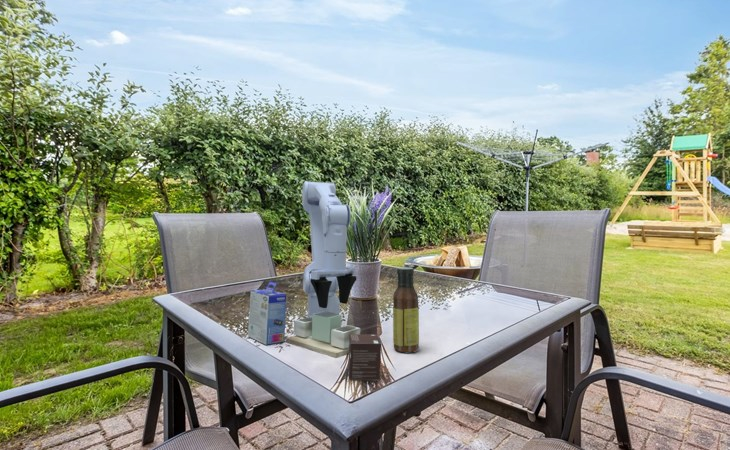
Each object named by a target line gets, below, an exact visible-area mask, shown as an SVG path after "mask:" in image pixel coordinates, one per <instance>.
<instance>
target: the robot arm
mask: <svg viewBox="0 0 730 450" xmlns="http://www.w3.org/2000/svg"><path fill="white" fill-rule="evenodd" d="M336 189H337V187H336V185H335V183H334V182H321V181H320V182H319V181H318V182H317V181H307V180H305V181H304V182H303V183H302V190H301V193H302V194H301V195H302V196H301V198H302V199H301V200H302V208H303V210H304V211H305V212H307V213H308V217H309V223H310V225H309V226H310V243H311V244H310V245H311V246H310V247H311V263H309V264H308V265H307V266H305V268H304V270H303V280H302V288H303V292H304V294H306V295H307V317H312V314H314V313H319V312H323V311H324V312H325V311H327V312H331V313H336V314H339V315H340V304H343V305H344V304H348V301H349V297H350V293H351V291H352V288H353V287H354V284H355V282H356V281H357V276H356V270H357V269H356V266H355V267H353V266H347V242H348V241H347V236H348V235H347V234H348V227H349V226H350V223H351V209H350V206H349V204H345V205H343V204H342V203H341V201H340V199H339V198H338V196H337V195H336V194H337V192H336V191H337V190H336ZM337 292H338V296H337V294H336V293H337ZM307 317H306V318H307Z"/></svg>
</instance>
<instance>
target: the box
mask: <svg viewBox="0 0 730 450" xmlns="http://www.w3.org/2000/svg"><path fill="white" fill-rule="evenodd" d="M381 351H382V342H381V339H380V338H379V335H378V334H376V333H375V334H374V333H373V334H370V333H369V334H361V333H360V334H350V335H349V353H348V365H347V366H348V367H347V368H348V372H347V373H348V380H349V381H354V382H355V381H380V380H381V359H382V358H381V356H382V352H381Z"/></svg>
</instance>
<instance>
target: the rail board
mask: <svg viewBox="0 0 730 450" xmlns="http://www.w3.org/2000/svg"><path fill="white" fill-rule="evenodd" d="M350 334H361V327H357V326H353V325H349V324H348V325H344V326H341V327H340V328H336V329H333V330H331V343H328V342H324V341H321V340H317V339H314V338H312V317H304V318H303V317H302V318H298V319H294V320H293V336H288V337H285V343H288V344H292V345H295V346H297V347H301V348H304V349H307V350H310V351H314V352H317V353H318V354H319V353H320V354H323V355H327V356H329V357H333V358H335V359H337V358H340V357H341V356H345V355H347V354H348V355H349V335H350Z"/></svg>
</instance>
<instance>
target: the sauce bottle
mask: <svg viewBox="0 0 730 450" xmlns="http://www.w3.org/2000/svg"><path fill="white" fill-rule="evenodd" d="M414 269H415V268H413V267H407V266H404V267H403V266H401V267H397V268H396V275H397V287H396V288H395V290H394V292H393V294H392V295H393V298H392V300H393V301H392V304H393V305H392V339H393V340H392V341H393V348H394V350H395V351H397V352H400V353H403V352H412V353H415V352H414V351H416V352H417V351H418V350H419V347H420V346H419V344H420V325H419V324H420V321H419V320H420V314H419V312H420V311H419V310H420V308H419V295H418V294H417V291H416V289H415V287H414V274H415V273H414V272H415V271H414Z"/></svg>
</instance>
